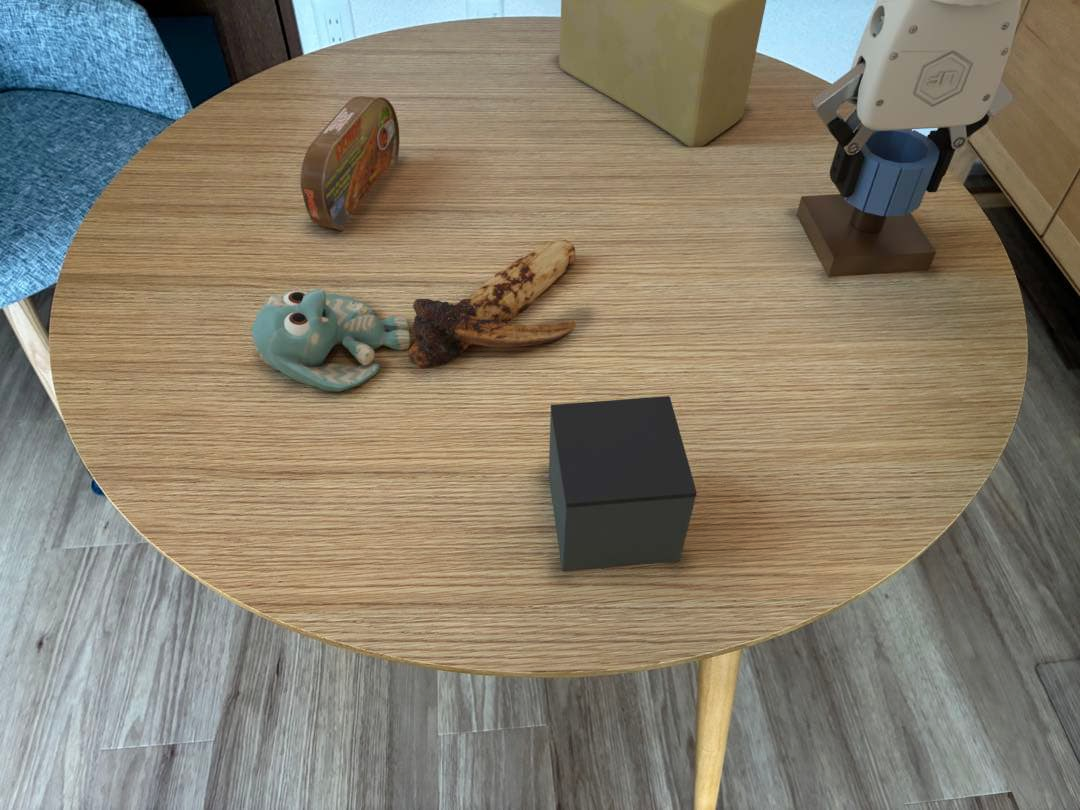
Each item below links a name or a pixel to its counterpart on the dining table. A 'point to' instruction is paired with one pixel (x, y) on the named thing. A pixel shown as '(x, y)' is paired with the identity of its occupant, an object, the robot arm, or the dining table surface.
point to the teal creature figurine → (323, 337)
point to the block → (619, 483)
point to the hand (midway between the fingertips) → (883, 184)
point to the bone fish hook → (492, 310)
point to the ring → (894, 172)
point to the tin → (349, 159)
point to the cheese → (666, 58)
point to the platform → (862, 238)
